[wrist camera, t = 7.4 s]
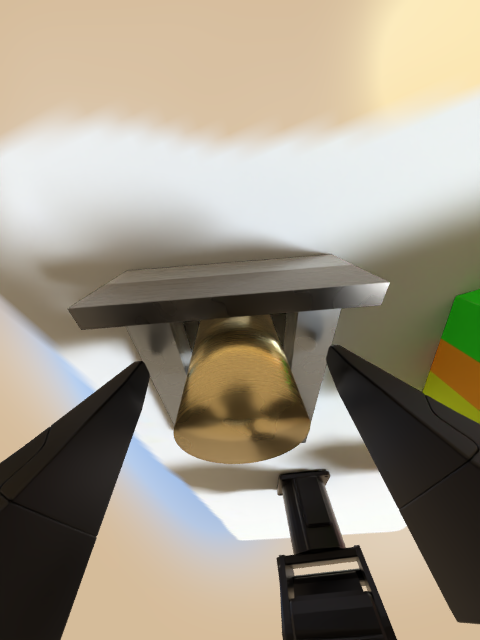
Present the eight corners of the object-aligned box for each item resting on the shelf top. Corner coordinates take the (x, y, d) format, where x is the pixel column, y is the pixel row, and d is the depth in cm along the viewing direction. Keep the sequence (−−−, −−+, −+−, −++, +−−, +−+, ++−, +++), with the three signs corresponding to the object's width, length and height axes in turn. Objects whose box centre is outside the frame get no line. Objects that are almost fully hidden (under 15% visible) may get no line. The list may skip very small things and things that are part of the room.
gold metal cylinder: (271, 353, 12) (301, 457, 7) (205, 358, 12) (190, 468, 7) (273, 292, 10) (321, 386, 5) (192, 299, 10) (153, 401, 5)
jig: (298, 421, 17) (315, 471, 14) (191, 430, 17) (182, 483, 14) (331, 254, 9) (390, 282, 6) (126, 270, 9) (67, 308, 6)
